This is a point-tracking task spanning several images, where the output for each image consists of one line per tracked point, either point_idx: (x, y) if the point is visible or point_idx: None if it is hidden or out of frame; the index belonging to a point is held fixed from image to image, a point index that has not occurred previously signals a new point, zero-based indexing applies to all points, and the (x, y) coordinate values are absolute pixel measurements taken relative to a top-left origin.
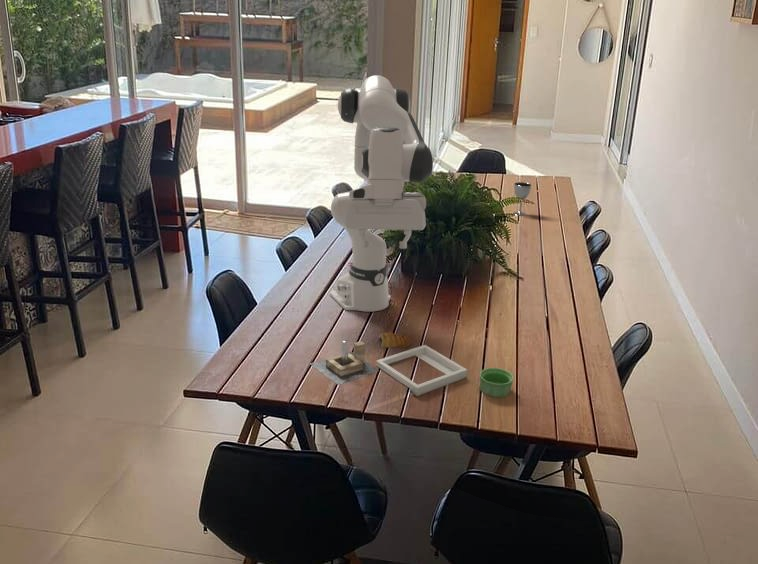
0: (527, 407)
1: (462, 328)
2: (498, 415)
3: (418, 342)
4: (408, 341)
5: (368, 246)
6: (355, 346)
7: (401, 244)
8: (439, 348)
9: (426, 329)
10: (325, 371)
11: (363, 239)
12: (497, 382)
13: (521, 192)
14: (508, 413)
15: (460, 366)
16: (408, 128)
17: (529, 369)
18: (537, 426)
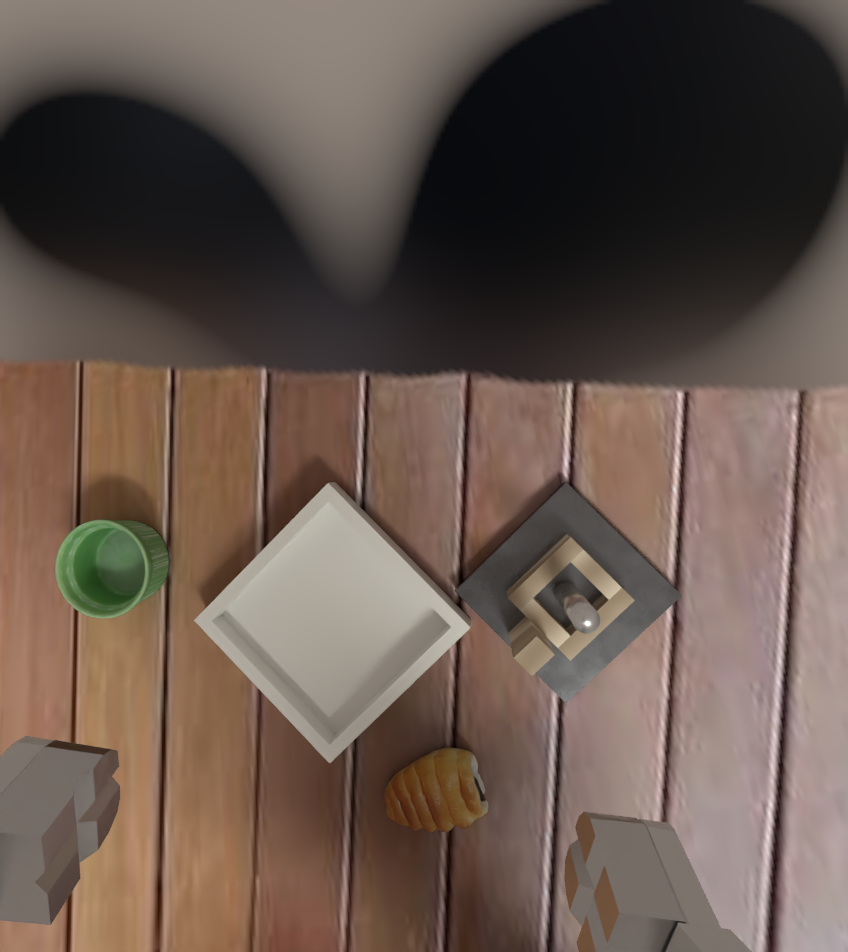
0: (53, 484)
1: (232, 935)
2: (123, 429)
3: (361, 813)
4: (387, 791)
5: (592, 818)
6: (545, 643)
7: (41, 783)
8: (294, 782)
9: (344, 912)
10: (619, 555)
11: (727, 949)
12: (122, 593)
13: None
14: (99, 444)
15: (214, 636)
16: None
17: (41, 692)
18: (33, 398)
